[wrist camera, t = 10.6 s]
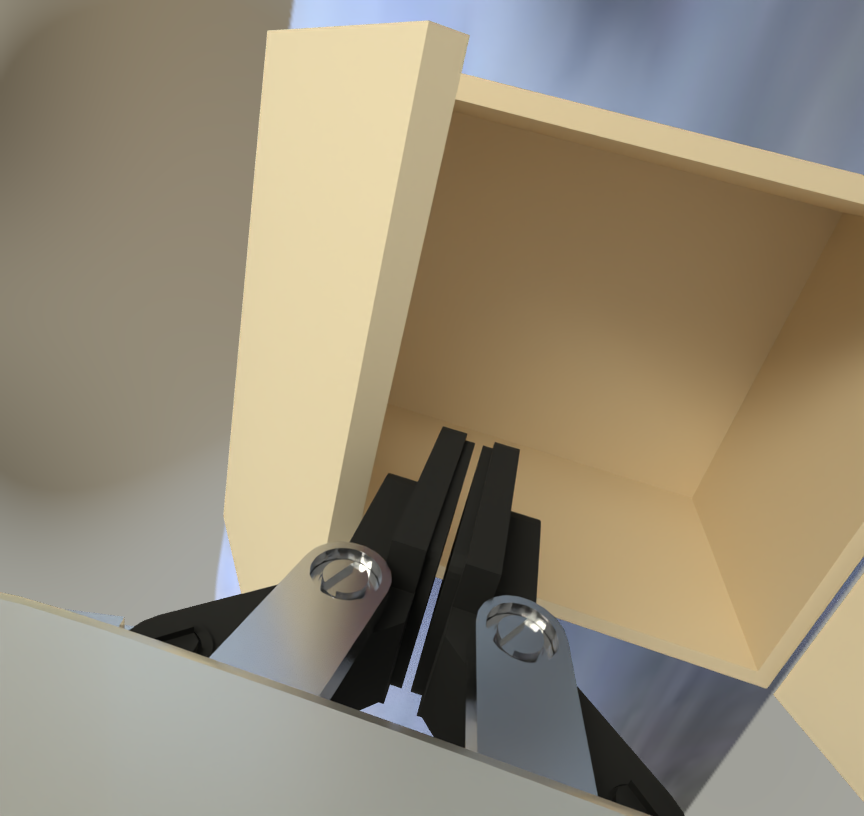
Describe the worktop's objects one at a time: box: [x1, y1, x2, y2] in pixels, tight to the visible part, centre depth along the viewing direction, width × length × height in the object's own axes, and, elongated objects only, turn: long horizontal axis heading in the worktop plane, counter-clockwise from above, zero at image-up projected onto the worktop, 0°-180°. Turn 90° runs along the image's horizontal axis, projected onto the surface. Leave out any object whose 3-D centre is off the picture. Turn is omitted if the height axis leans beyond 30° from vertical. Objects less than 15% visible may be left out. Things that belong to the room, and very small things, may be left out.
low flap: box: [223, 21, 470, 594], centre depth 14 cm, size 16×10×1 cm
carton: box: [361, 73, 864, 689], centre depth 23 cm, size 16×20×12 cm
